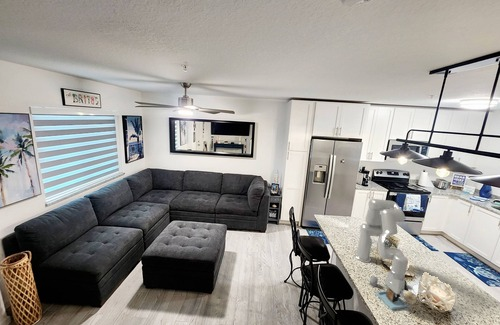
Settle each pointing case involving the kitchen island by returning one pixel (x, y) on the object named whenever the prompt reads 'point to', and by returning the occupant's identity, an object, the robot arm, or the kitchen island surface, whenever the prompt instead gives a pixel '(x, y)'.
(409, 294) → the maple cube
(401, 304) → the tray
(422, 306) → the kitchen island surface
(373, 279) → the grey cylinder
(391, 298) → the walnut block
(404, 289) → the black lumpy block
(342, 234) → the kitchen island surface
